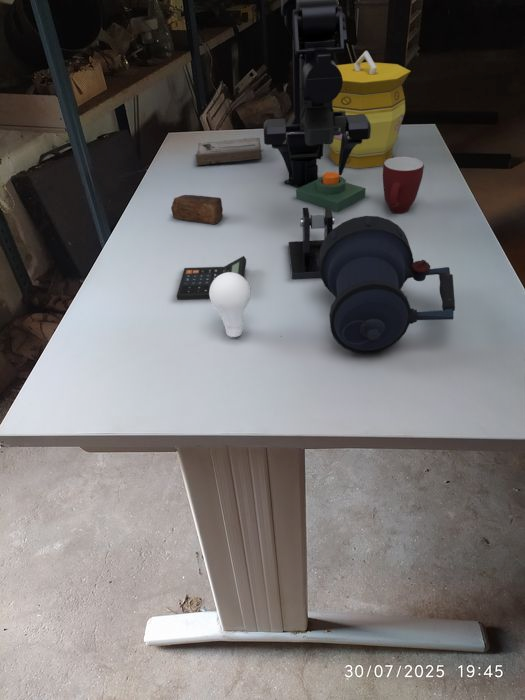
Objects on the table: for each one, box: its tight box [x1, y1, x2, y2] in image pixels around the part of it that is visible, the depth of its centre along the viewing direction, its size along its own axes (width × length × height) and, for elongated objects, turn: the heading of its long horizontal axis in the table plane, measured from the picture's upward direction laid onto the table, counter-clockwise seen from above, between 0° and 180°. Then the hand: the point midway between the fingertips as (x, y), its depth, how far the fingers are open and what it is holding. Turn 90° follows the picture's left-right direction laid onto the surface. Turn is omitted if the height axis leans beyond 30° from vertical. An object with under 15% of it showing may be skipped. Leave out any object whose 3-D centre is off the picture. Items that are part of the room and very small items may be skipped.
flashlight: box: [317, 215, 456, 354], centre depth 80 cm, size 15×21×20 cm
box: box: [195, 137, 263, 166], centre depth 145 cm, size 11×17×3 cm, turn 91°
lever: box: [309, 213, 325, 230], centre depth 100 cm, size 11×5×2 cm, turn 1°
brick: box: [170, 194, 224, 225], centre depth 117 cm, size 11×4×5 cm, turn 69°
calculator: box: [176, 255, 247, 301], centre depth 96 cm, size 9×12×3 cm
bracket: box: [288, 206, 336, 280], centre depth 98 cm, size 12×10×10 cm
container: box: [328, 50, 411, 170], centre depth 134 cm, size 21×21×25 cm
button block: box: [295, 176, 366, 213], centre depth 122 cm, size 12×10×4 cm
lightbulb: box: [209, 272, 252, 338], centre depth 81 cm, size 6×6×11 cm
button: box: [322, 171, 340, 185], centre depth 120 cm, size 4×4×2 cm
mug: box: [382, 156, 425, 214], centre depth 112 cm, size 10×8×10 cm
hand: (315, 176), depth 102 cm, fingers open, 9 cm apart
